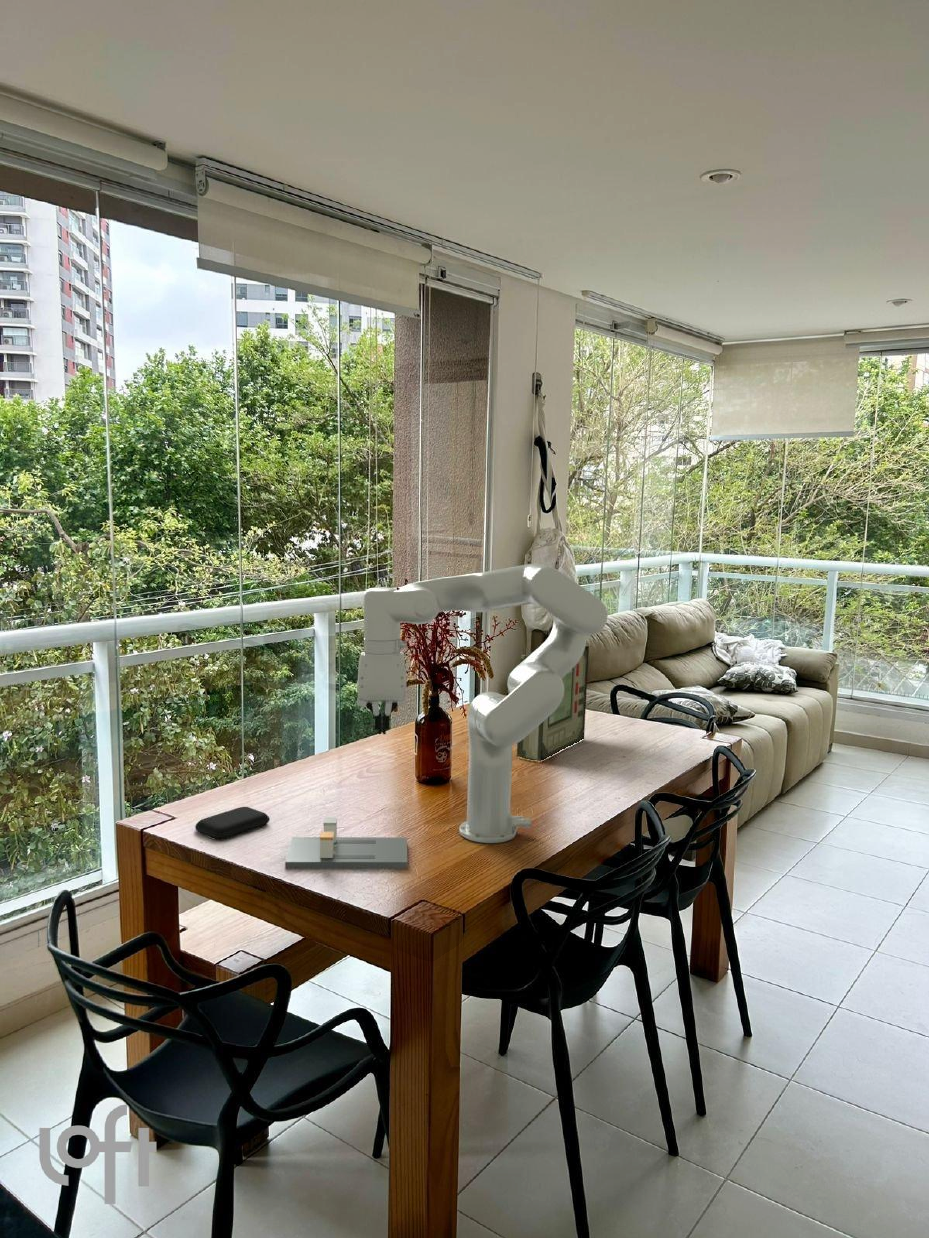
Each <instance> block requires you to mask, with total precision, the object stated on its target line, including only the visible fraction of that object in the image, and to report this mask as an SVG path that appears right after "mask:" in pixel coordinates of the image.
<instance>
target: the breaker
mask: <svg viewBox="0 0 929 1238" xmlns="http://www.w3.org/2000/svg"><path fill="white" fill-rule="evenodd" d="M323 832H334V843H336V838H337V836H338V834H337V833H338V817H328V816H327V817H326V816H325V817H324V819H323Z"/></svg>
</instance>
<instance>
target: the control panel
mask: <svg viewBox="0 0 929 1238" xmlns="http://www.w3.org/2000/svg"><path fill="white" fill-rule="evenodd" d="M589 648H590V645H589V644H586V645H585V649H584V652H583V655H582V657H581V658H580V660H579V661H578V663H577V664H576V665H575V666H574V667H573V668H572V669H571V670H570V671H569V672H568V673H567V674H566V675H565V676H564V677H563V678H562V681H563V684H564V696H563V699H562V701H561V703H560V704H559V706H558V707H557V709H556V710H555V711H554V712H553V713H552V714H551V715H550V716H549V717H548V718H546V719H545V720H544V721H543V722H542V723H541V724H540V725H539V726H538V727H536V728H535V729H534V730H533V731H532V732H531V733H530V734H528V735H527V736H526V737H525V738H524V739H523V740H521V741H520V742H518V743H517V744H516V745H517V746H516V758H517V757H522V758H525V759H530V760H537V761H541V760H544V759H546V758H547V757H549V756H552V755H553V754H555V753H557V752H559V751H560V750H562V749H565V748H566V747H568V746H571V745H573V744H574V743H577V742H579V741H580V740H582V739H584V740H585V729H586V728H585V727H586V725H585V724H586V709H587V690H588V689H587V688H588V687H587V686H588V672H589V671H588V670H589V669H588V668H589ZM533 652H534V651H532V652H528V653H524V654H521V655H520V663H521V662H523V661H524V660H525V659H526V658H527V657H528V656H529V655H531V654H532V653H533Z"/></svg>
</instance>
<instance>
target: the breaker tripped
mask: <svg viewBox="0 0 929 1238" xmlns="http://www.w3.org/2000/svg"><path fill="white" fill-rule="evenodd" d="M319 837H320V858H333V853H334V832H324V831H320V835H319Z"/></svg>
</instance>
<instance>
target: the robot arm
mask: <svg viewBox="0 0 929 1238" xmlns="http://www.w3.org/2000/svg"><path fill="white" fill-rule="evenodd" d="M531 604H534V605H537V606H539V607H541V608H542V609H544V610H545V612H548V613H549V614H550V615H552V617H553V619H552V620H553V621H552V629H551V631H550V633H549V636H548V637H547V638H546V639H545V641H544V642H543V643H541V644H540V646H538V647H537V648H536V649H535V650H534V651H532V652H533V653H532V654H531V655H529V656H528V657H527V658H526V659H525V660H524V661H523V662H521V661H520V663H519V664H518V665H516V666H515V668H513V670H512V671H511V672H510V673H509V675H508V677H507V684H506V685H507V689H508V691H509V692H510V693H509V694H508V695H507V696H505V695H503V694H501V693H499V692H494V691H485V692H482V693H479V694H477V696H476V697H474V699H472V701H471V703H470V704H469V706H468V710H467V729H468V730H467V732H468V770H467V771H468V774H467V796H466V797H467V802H466V805H467V806H466V821H463V822H462V823H461V824H460V825H459V834H460V835H461V836H462V837H463V838H465V839H467V840H469V841H472V842H477V843H482V844H483V843H484V844H499V843H505V842H508V841H510V840H512V839H514V838H515V837H516V836H517V828H521V827H522V828H531V826H532V822H531V821H532V820H531V818H525V817H524V815H513V814H512V812H511V798H512V797H511V795H512V794H511V793H512V792H511V791H512V771H513V770H512V769H513V768H512V767H513V746H515V745H517V743H518V742H520V741H521V740H523V739H524V738H525V737H526V736H527V735H528V734H530V733H531V732H532V731H533V730H534V729H535V728H536V727H538V726H539V725H540V724H541V723H542V722H543V721H544V720H545V719H546V718H548V717H549V716H550V715H551V714H552V713H553V712H554V711H555V710H556V709H557V707H558V706H559V704H560V703H561V701H562V699H563V696H564V684H563V681H562V678H563V677H564V676H565V675H566V674H567V673H568V672H569V671H570V670H571V669H572V668H573V667H574V666H575V665H576V664H577V663H578V661H579V660H580V658H581V657H582V655H583V652H584V649H585V645H587V640H588V637H589V636H594V635H596V634H599V633H600V632H601V631H602V630H603V629H604V628H605V626H606V625H607V622H608V610H607V607H606V605H605V604H604V602H603V601H602V600H601V599H600V598H599V597H598V596H596V595H594V594H593V593H591V592H590V591H589V590H587V589H585V588H584V587H583V586H581V585H579V584H578V583H577V582H575V581H574V580H573V579H571V578H570V577H569V576H567V575H565V573H563V572H562V571H560V570H559V569H557V568H554V567H552V566H550V565H549V566H548V565H545V564H541V563H529V564H528V563H527V564H522V565H517V566H511V567H507V568H506V567H505V568H499V569H494V570H489V571H487V570H486V571H483V572H477V573H476V572H475V573H467V574H462V575H455V576H446V577H439V578H433V579H427V580H421V581H420V580H419V581H416V582H415V581H414V582H410V583H408V584H405V585H404V586H402V587H400V588H399V589H396V588H394V587H387V586H386V587H382V586H380V587H378V586H377V587H371V588H367V589H366V590H365V592H364V594H363V651H362V652H360V654H359V660H358V668H357V669H358V670H357V671H358V672H357V699H356V705H357V706H359V707H363V708H367V709H368V710H369V711H370V712H371V713H372V714H373V715H374V730H377V731H378V732H377V734H378V735H381V734H382V735H387V734H386V732H387V731H386V730H390V715H391V714H392V713H393V712H394V711H395V710H396V709H397V708H400V707H403V706H407V705H408V699H407V672H406V671H407V670H406V668H407V667H406V659H405V653H404V652H403V651H401V650H403V649H408V641H404V640H402V639H401V623H406V624H416V625H423V624H428V623H430V622H432V621H433V620H435V618H436V617H437V616H438V614H439V613H443V612H451V611H452V612H453V611H460V612H461V611H463V612H472V613H489V612H493V611H498V610H499V611H500V610H503V609H508V608H514V607H521V606H525V605H531ZM379 702H385V708H384V710H383V711H382V710H381V709H380V705H379ZM381 711H382V712H383V713H381Z"/></svg>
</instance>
